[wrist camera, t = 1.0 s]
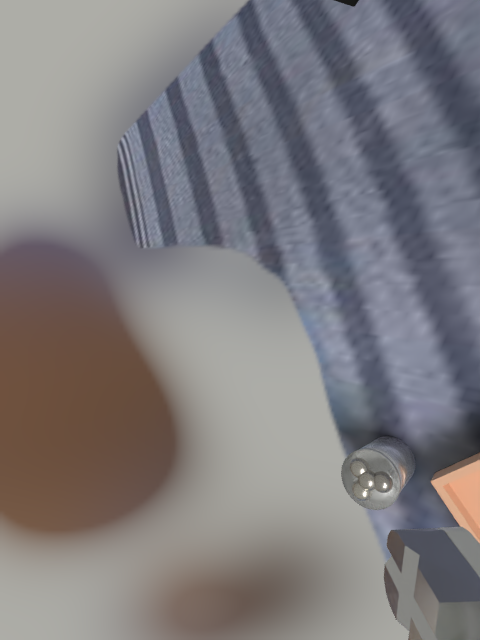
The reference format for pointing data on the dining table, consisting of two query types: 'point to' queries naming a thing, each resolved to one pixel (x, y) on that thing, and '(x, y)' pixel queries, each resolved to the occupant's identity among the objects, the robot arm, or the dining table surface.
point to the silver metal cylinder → (378, 472)
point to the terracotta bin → (462, 492)
